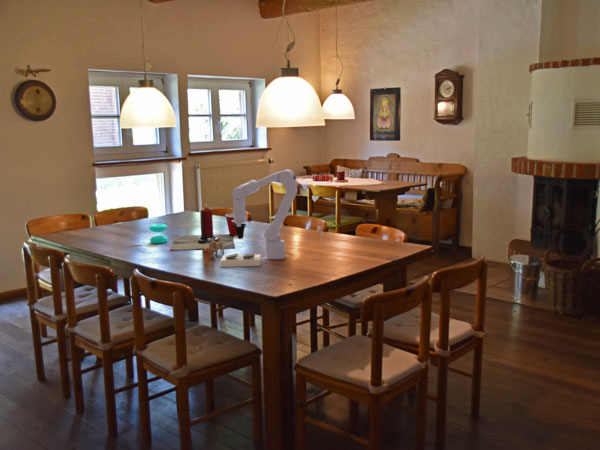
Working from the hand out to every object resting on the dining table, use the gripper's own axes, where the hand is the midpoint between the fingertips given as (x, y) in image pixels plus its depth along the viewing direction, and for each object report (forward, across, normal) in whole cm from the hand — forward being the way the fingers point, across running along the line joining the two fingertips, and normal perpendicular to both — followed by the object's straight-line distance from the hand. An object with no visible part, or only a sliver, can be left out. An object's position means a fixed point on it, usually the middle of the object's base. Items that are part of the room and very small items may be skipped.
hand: (240, 238), depth 280 cm
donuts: (+10, -42, -50) cm, 66 cm away
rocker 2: (+6, +15, +5) cm, 17 cm away
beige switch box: (+9, +13, +1) cm, 16 cm away
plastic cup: (+10, -61, -9) cm, 62 cm away
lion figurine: (+10, -3, -12) cm, 16 cm away
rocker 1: (+6, +15, -3) cm, 16 cm away
